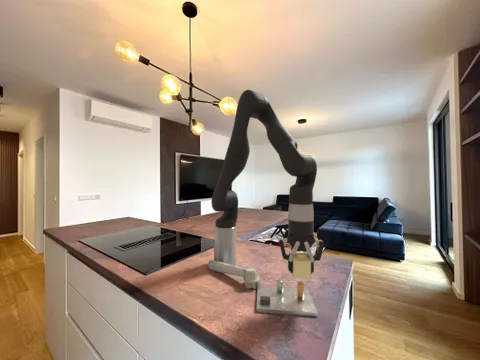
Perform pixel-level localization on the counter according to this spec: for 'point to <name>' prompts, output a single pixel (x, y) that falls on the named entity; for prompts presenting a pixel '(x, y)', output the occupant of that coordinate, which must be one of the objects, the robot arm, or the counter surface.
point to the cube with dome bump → (301, 265)
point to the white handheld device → (236, 272)
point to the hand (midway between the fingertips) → (300, 272)
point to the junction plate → (285, 300)
